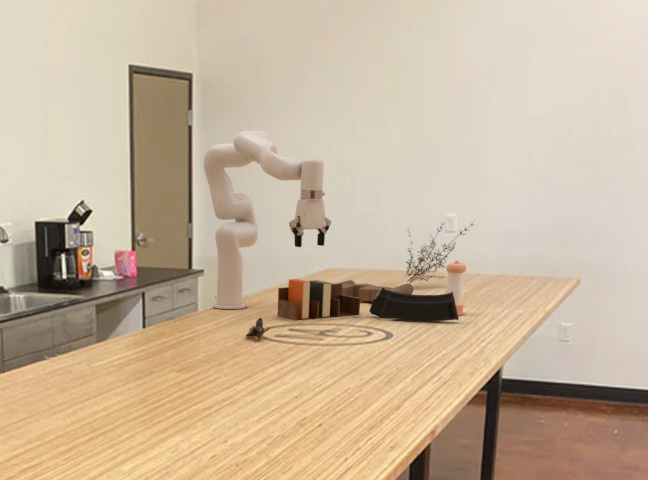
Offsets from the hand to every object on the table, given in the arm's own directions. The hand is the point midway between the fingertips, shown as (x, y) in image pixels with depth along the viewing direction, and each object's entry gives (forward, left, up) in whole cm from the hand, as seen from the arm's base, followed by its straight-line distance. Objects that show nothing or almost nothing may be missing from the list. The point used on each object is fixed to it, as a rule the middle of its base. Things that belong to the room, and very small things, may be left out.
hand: (309, 246), depth 374 cm
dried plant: (-55, +100, -26) cm, 117 cm away
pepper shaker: (+16, +53, -26) cm, 61 cm away
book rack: (0, +5, -25) cm, 26 cm away
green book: (0, +5, -25) cm, 25 cm away
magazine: (+22, +30, -26) cm, 45 cm away
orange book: (0, -4, -25) cm, 25 cm away
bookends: (-35, +52, -26) cm, 67 cm away
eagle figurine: (+28, -38, -26) cm, 54 cm away
